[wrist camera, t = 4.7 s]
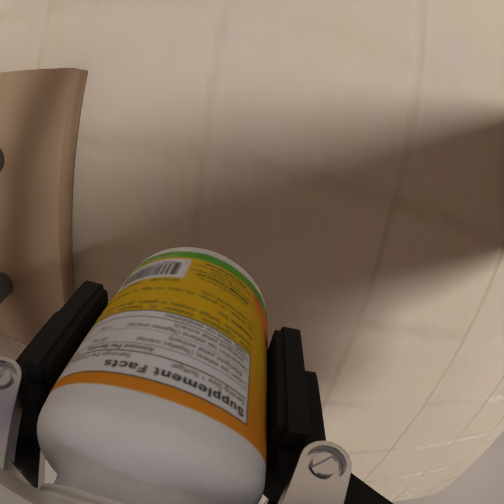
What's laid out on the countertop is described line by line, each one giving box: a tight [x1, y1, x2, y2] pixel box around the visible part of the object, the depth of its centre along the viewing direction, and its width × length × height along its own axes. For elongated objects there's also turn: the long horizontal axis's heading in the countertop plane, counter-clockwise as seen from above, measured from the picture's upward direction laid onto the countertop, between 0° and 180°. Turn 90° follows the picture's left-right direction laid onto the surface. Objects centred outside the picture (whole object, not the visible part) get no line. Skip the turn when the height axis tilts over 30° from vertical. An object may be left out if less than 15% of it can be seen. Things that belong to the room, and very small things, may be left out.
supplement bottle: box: [37, 247, 268, 504], centre depth 7 cm, size 5×5×10 cm
